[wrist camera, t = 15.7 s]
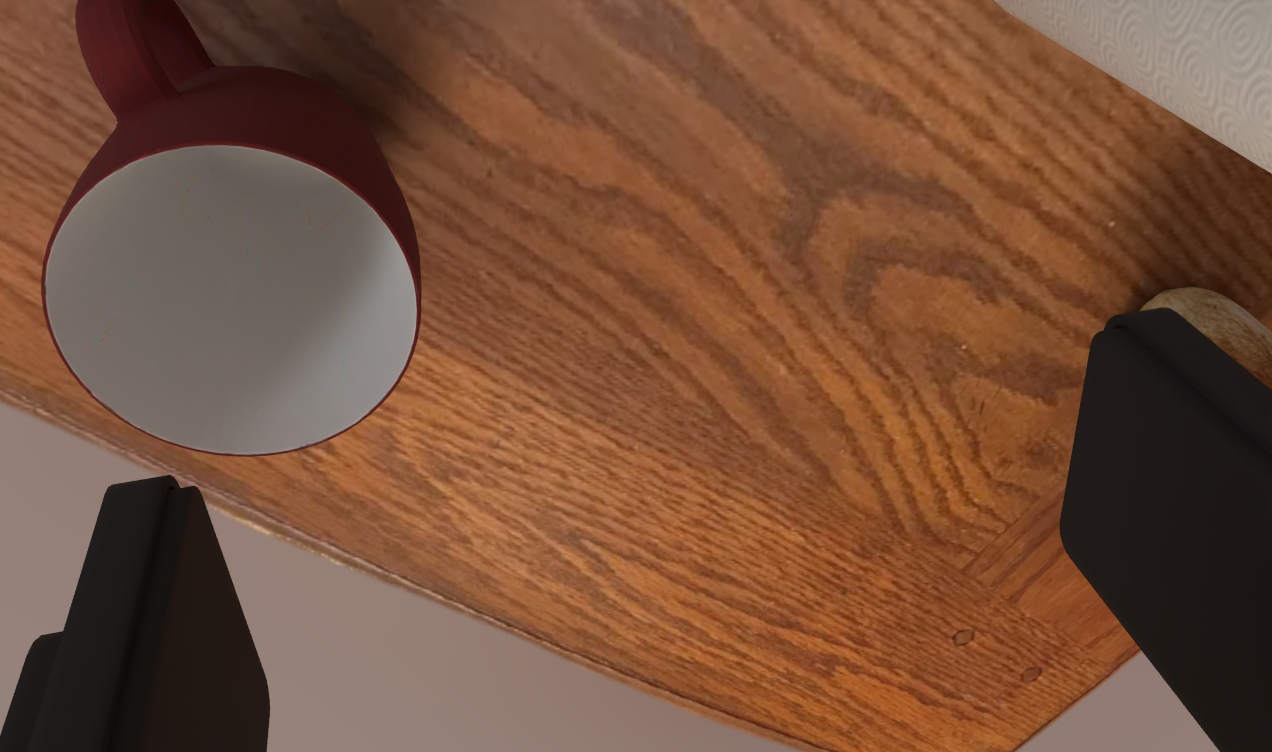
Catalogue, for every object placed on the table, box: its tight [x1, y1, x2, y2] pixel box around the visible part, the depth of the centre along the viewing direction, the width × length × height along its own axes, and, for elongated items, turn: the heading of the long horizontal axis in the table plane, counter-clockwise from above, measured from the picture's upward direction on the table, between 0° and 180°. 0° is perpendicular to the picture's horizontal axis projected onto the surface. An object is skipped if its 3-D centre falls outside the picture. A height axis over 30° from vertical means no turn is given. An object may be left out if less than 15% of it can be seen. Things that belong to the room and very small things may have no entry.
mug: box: [41, 0, 421, 457], centre depth 29 cm, size 11×8×10 cm
